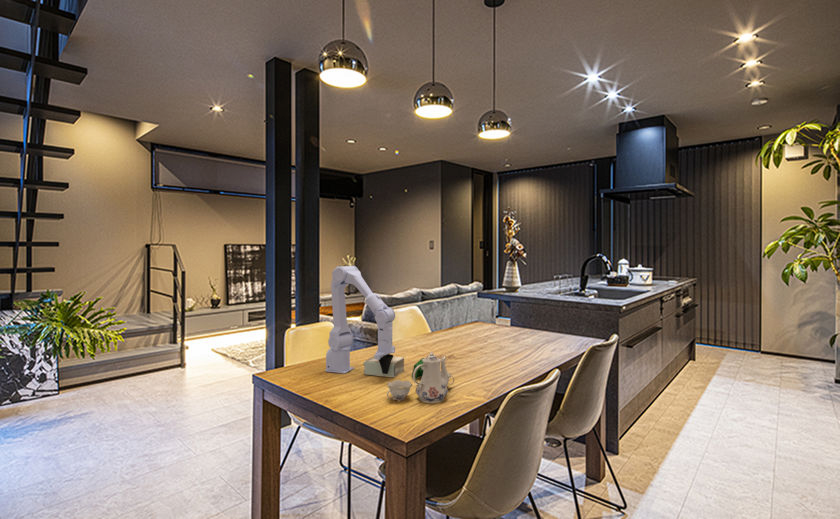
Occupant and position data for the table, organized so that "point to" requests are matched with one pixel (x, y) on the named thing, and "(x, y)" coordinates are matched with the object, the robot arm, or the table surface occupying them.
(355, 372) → the table surface
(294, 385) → the table surface
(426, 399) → the chinaware
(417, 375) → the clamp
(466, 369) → the table surface
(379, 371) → the door
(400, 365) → the cabinet
